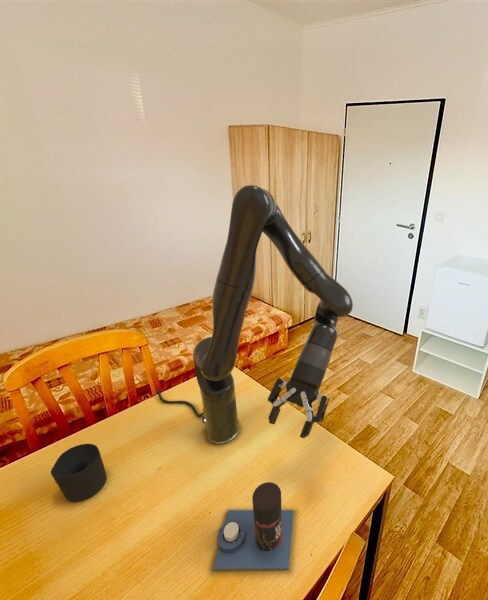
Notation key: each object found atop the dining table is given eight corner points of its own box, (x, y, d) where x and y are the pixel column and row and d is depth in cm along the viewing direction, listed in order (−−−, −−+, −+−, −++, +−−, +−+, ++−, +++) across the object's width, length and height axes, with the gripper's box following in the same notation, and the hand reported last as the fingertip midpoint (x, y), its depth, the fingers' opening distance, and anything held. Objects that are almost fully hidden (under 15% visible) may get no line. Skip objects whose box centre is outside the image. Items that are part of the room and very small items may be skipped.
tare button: (222, 542, 70) (221, 537, 69) (226, 526, 73) (225, 522, 72) (237, 542, 70) (236, 537, 70) (240, 526, 73) (240, 522, 73)
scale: (210, 571, 67) (209, 564, 66) (226, 512, 78) (225, 506, 77) (288, 570, 68) (288, 564, 67) (293, 512, 79) (293, 506, 78)
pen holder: (117, 478, 84) (107, 453, 79) (77, 511, 76) (65, 484, 72) (94, 463, 87) (84, 438, 83) (55, 493, 79) (41, 467, 75)
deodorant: (276, 554, 70) (275, 513, 63) (251, 547, 71) (247, 506, 64) (285, 526, 75) (285, 485, 69) (262, 519, 76) (259, 479, 69)
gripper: (341, 376, 79) (318, 442, 75) (293, 358, 84) (268, 419, 80) (334, 371, 72) (307, 443, 68) (281, 352, 78) (254, 418, 73)
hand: (286, 430), depth 74 cm, fingers open, 8 cm apart
